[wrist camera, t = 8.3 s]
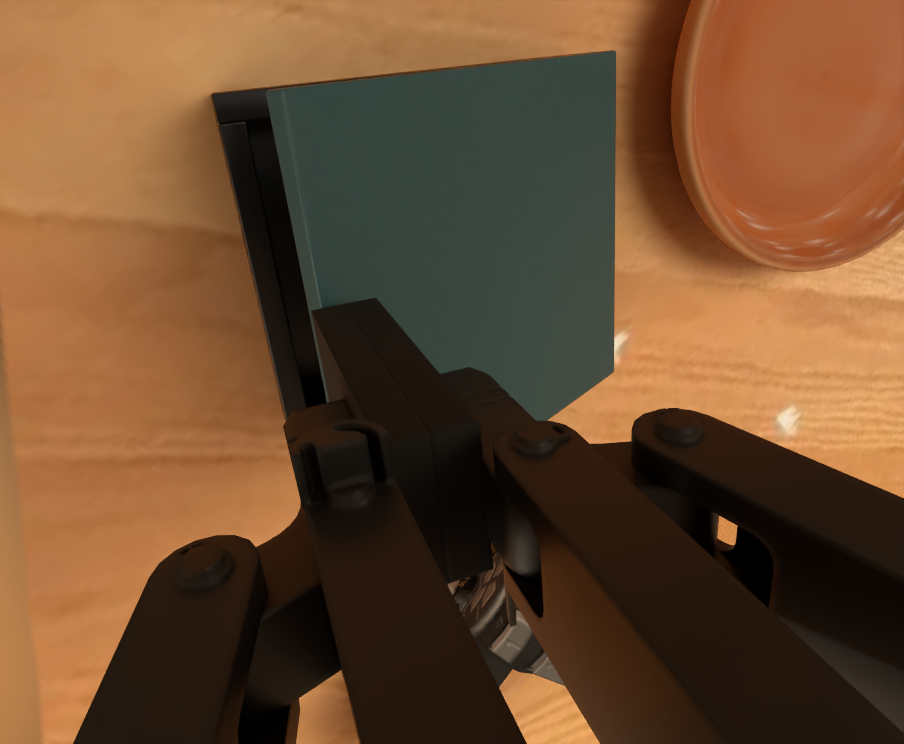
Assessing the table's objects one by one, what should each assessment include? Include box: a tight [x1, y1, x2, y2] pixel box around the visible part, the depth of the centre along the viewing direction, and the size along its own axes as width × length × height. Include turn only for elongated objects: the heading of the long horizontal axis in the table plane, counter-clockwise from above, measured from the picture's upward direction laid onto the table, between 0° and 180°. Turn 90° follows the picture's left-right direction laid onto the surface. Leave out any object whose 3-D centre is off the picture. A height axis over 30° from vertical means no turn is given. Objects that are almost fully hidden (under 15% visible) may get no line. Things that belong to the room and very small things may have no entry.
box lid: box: [266, 50, 616, 421], centre depth 20 cm, size 13×12×1 cm
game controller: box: [447, 551, 565, 687], centre depth 31 cm, size 16×7×10 cm, turn 144°
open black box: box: [211, 52, 593, 421], centre depth 24 cm, size 13×12×3 cm
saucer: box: [671, 0, 904, 272], centre depth 27 cm, size 16×16×3 cm
